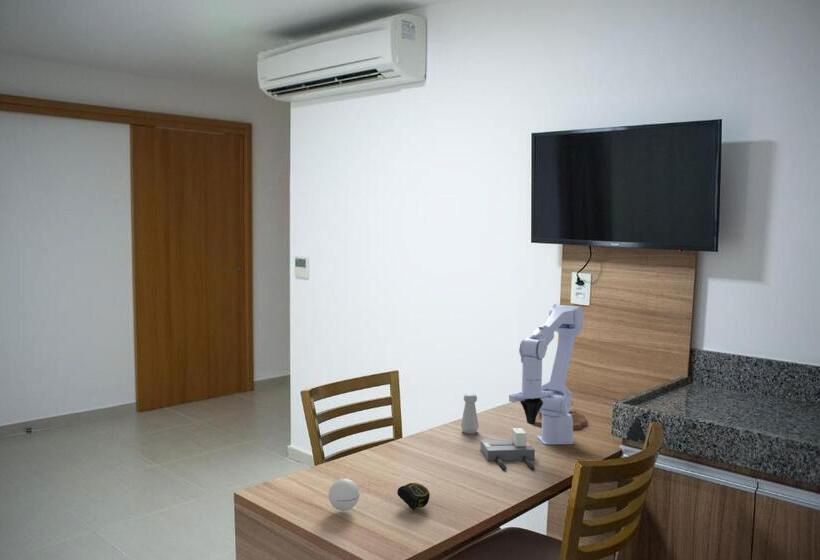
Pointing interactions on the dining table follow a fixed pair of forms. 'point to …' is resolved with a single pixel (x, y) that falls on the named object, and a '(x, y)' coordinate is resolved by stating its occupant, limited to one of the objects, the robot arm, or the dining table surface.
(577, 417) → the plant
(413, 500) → the tape measure
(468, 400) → the salt shaker
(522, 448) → the breaker block
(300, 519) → the dining table surface
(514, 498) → the dining table surface
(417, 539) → the dining table surface
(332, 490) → the white oval body
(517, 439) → the breaker handle
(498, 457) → the dressed cords
